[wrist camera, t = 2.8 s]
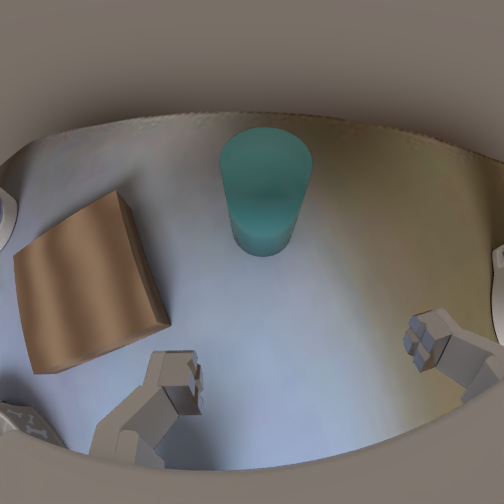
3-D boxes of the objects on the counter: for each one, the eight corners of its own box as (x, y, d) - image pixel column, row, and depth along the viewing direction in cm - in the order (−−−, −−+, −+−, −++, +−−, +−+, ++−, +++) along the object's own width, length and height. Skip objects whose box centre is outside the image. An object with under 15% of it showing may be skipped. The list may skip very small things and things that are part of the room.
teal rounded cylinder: (274, 193, 28) (283, 118, 18) (303, 240, 27) (330, 177, 16) (222, 216, 28) (206, 144, 17) (248, 267, 26) (244, 213, 15)
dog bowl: (-13, 395, 20) (-36, 395, 15) (60, 407, 21) (30, 412, 16) (21, 491, 14) (1, 499, 9) (106, 521, 15) (87, 539, 10)
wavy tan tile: (130, 207, 28) (115, 189, 24) (171, 325, 24) (156, 322, 20) (33, 265, 26) (13, 255, 22) (56, 373, 22) (34, 374, 18)
